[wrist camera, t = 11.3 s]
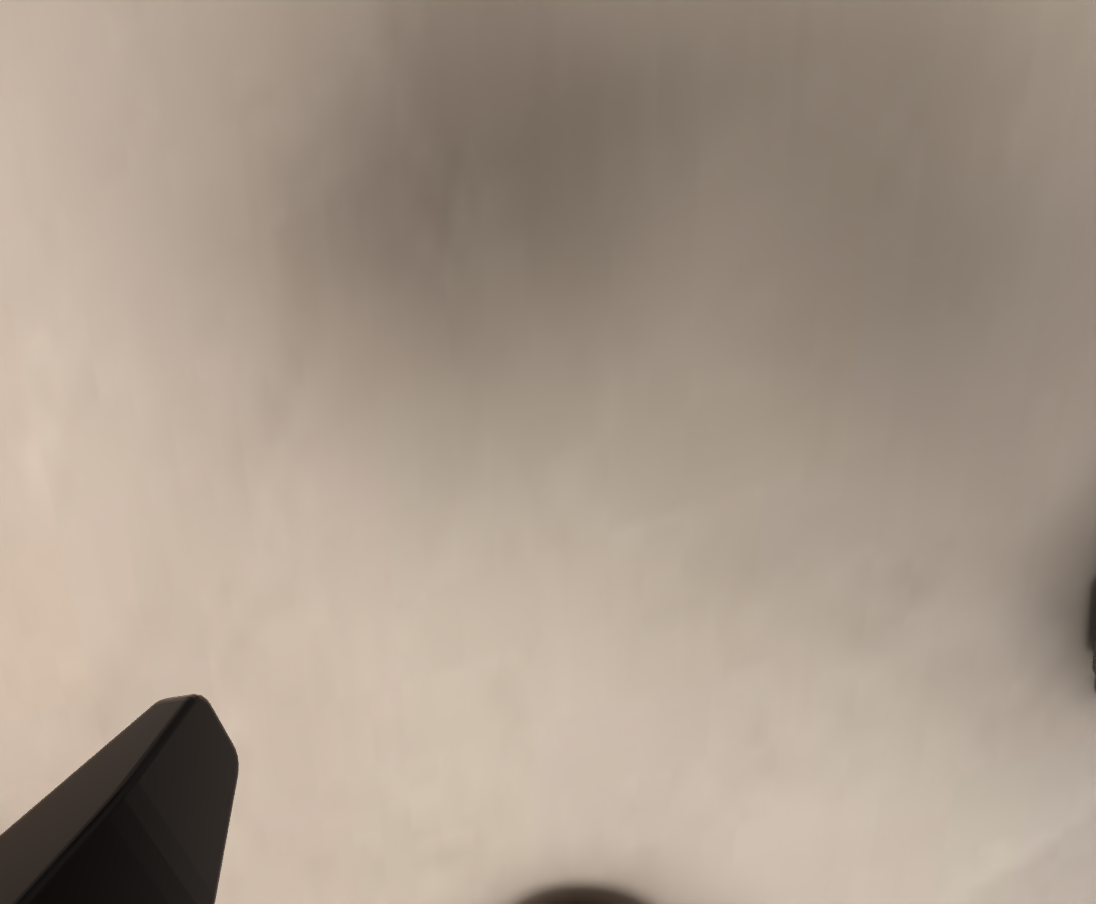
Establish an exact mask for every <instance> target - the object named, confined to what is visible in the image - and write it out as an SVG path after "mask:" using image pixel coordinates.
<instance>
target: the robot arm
mask: <svg viewBox="0 0 1096 904" xmlns="http://www.w3.org/2000/svg"><path fill="white" fill-rule="evenodd" d="M1093 672H1094V673H1095V675H1096V632H1095V644H1094V656H1093ZM238 765H239V763H238V756H237V753H236V749H235V747H234V745H233V743H232V741H231V740H230V738H229V736H228V734H227V733H226V731H225V729H224V727H223V726H222V724H221V722H220V720H219V718H218V717H217V715H216V713H215V711H214V710H213V708H212V706H211V704H210V703H209V701H208V700H207V699H206V698H204V697H203V696H201V695H196V694H191V695H185V696H178V697H171V698H166V699H163V700H160V701H158V702H157V703H155V704H154V705H153V706H151V707H150V708H149V709H148V710H147V711H146V712H144V713H143V714H142V715H141V716H140V717H139V718H137V719H136V720H135V721H134V722H133V723H132V724H130V725H129V726H128V727H127V728H126V729H125V730H123V731H122V732H121V733H120V734H119V735H117V736H116V737H115V738H114V739H113V740H112V741H110V742H109V743H108V744H107V745H106V746H105V747H103V748H102V749H101V750H100V751H99V752H98V753H96V754H95V755H94V756H93V757H92V758H90V759H89V760H88V761H87V762H86V763H85V764H83V765H82V766H81V767H80V768H79V769H78V770H76V771H75V772H74V773H73V774H72V775H71V776H69V777H68V778H67V779H66V780H65V781H64V782H62V783H61V784H60V785H59V786H58V787H56V788H55V789H54V790H53V791H52V792H51V793H49V794H48V795H47V796H46V797H45V798H44V799H42V800H41V801H40V802H39V803H38V804H37V805H35V806H34V807H33V808H32V809H31V810H29V811H28V812H27V813H26V814H25V815H24V816H22V817H21V818H20V819H19V820H18V821H17V822H15V823H14V824H13V825H12V826H11V827H10V828H8V829H7V830H6V831H5V832H4V833H3V834H1V835H0V904H214V903H215V899H216V893H217V888H218V882H219V877H220V871H221V866H222V860H223V855H224V849H225V844H226V838H227V833H228V827H229V822H230V816H231V811H232V805H233V800H234V795H235V789H236V784H237V778H238Z"/></svg>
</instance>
